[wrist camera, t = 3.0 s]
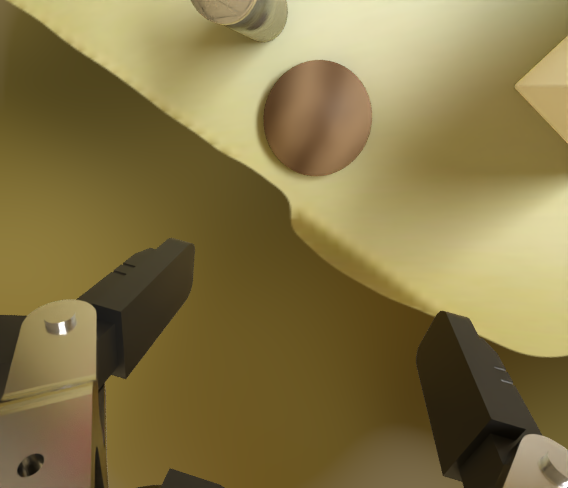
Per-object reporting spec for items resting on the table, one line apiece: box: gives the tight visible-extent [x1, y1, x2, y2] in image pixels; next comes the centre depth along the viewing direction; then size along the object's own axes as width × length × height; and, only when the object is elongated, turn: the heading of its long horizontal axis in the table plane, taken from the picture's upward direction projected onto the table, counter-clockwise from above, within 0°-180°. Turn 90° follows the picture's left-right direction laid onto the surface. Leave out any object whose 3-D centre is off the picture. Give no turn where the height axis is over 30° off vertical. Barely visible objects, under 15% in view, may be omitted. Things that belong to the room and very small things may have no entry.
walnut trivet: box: [264, 60, 372, 176], centre depth 35 cm, size 12×12×1 cm
